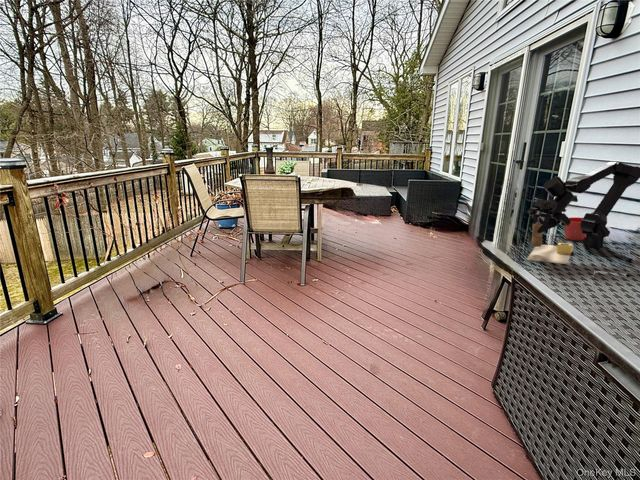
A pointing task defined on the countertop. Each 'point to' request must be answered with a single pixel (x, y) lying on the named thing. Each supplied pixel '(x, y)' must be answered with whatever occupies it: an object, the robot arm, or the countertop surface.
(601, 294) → the countertop surface
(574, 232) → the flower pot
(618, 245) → the countertop surface
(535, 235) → the awl
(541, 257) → the panel
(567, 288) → the countertop surface
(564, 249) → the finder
